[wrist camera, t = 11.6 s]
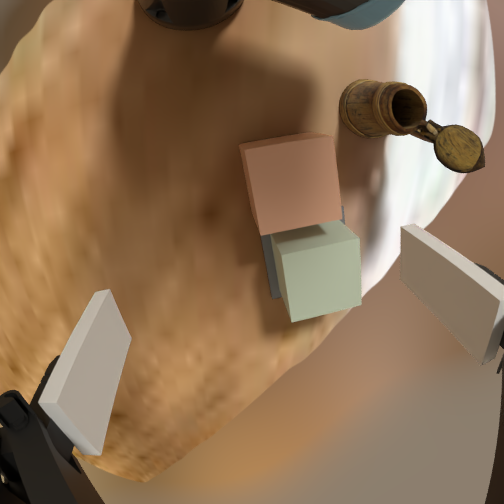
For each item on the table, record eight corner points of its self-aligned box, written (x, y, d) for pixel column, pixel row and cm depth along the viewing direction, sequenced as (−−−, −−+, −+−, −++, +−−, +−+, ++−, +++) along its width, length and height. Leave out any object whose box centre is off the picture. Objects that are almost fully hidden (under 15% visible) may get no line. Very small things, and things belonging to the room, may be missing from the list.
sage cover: (269, 230, 47) (281, 255, 39) (335, 216, 48) (359, 238, 39) (279, 289, 51) (291, 322, 43) (340, 275, 52) (361, 304, 43)
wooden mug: (391, 168, 46) (467, 198, 29) (327, 111, 42) (392, 111, 25) (420, 126, 43) (501, 140, 27) (360, 67, 39) (434, 50, 23)
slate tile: (258, 222, 47) (258, 223, 47) (342, 205, 47) (343, 206, 47) (271, 297, 52) (272, 299, 52) (347, 280, 53) (348, 281, 52)
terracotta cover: (238, 144, 42) (244, 150, 34) (310, 132, 43) (332, 135, 34) (252, 214, 46) (260, 235, 38) (320, 200, 47) (342, 219, 38)
